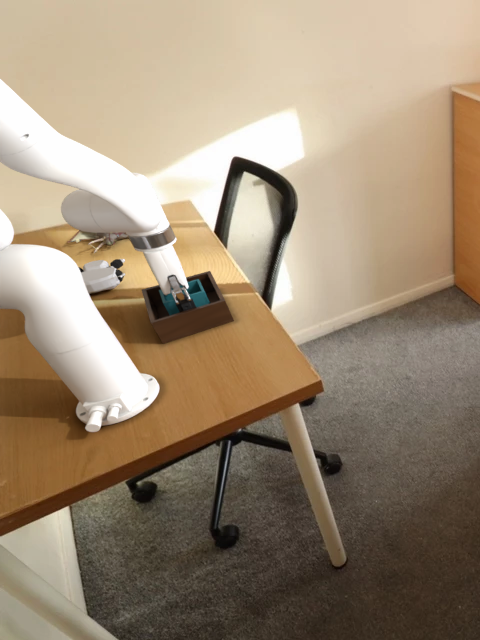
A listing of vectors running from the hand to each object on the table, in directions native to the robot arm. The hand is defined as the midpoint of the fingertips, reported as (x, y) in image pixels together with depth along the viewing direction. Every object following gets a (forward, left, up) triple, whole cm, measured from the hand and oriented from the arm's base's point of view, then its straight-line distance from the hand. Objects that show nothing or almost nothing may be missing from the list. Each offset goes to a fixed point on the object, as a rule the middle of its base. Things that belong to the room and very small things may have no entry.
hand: (187, 306), depth 106 cm
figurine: (+50, +25, -3) cm, 56 cm away
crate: (0, 0, -3) cm, 3 cm away
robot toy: (+23, +22, -3) cm, 32 cm away
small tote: (0, 0, -2) cm, 2 cm away
